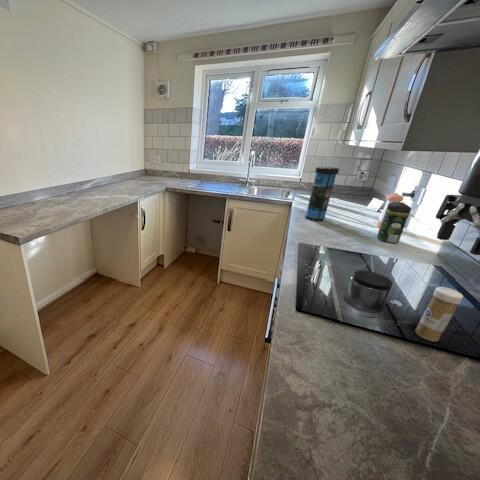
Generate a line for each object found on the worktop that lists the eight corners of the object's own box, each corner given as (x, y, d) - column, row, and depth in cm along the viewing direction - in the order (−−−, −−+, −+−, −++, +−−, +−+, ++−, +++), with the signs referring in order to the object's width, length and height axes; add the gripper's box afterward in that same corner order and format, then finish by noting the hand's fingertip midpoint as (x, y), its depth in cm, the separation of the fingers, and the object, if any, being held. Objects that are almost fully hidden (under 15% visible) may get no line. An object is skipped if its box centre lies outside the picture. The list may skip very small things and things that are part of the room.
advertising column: (327, 218, 157) (341, 168, 145) (322, 223, 149) (336, 169, 138) (307, 215, 164) (319, 166, 152) (301, 218, 156) (313, 167, 145)
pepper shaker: (385, 229, 140) (398, 194, 133) (372, 225, 146) (384, 192, 139) (395, 229, 141) (409, 194, 134) (382, 224, 148) (394, 191, 141)
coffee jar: (374, 235, 132) (387, 199, 125) (394, 238, 128) (408, 201, 121) (378, 241, 124) (392, 204, 117) (399, 245, 121) (415, 206, 113)
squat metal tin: (369, 300, 80) (380, 271, 76) (388, 319, 71) (402, 288, 67) (337, 297, 81) (346, 268, 77) (352, 316, 73) (364, 285, 69)
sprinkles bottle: (409, 329, 68) (430, 286, 63) (426, 330, 68) (449, 286, 63) (425, 342, 64) (450, 297, 58) (444, 343, 64) (470, 297, 58)
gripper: (561, 179, 45) (512, 262, 51) (481, 169, 58) (449, 236, 64) (511, 178, 46) (468, 259, 52) (443, 168, 59) (416, 234, 65)
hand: (458, 246), depth 58 cm, fingers open, 8 cm apart
